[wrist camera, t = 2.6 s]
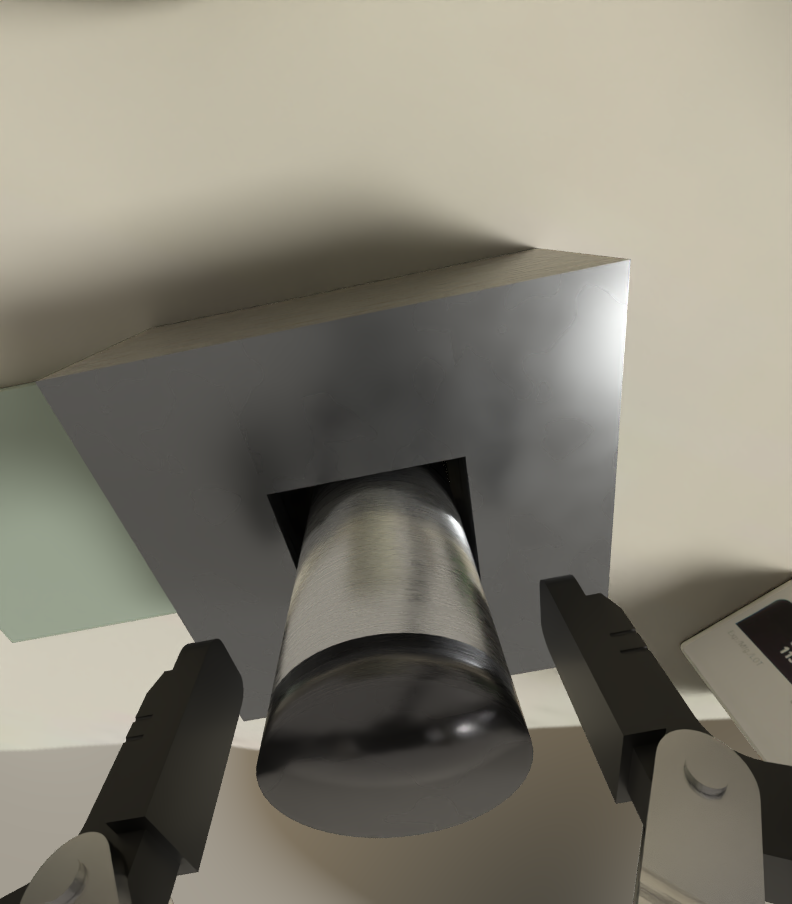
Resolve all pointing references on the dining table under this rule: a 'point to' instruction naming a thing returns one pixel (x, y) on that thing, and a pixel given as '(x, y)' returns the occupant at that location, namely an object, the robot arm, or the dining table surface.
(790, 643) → the container
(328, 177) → the dining table surface
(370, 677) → the silver metal cylinder
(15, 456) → the mat
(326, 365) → the housing
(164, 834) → the robot arm
